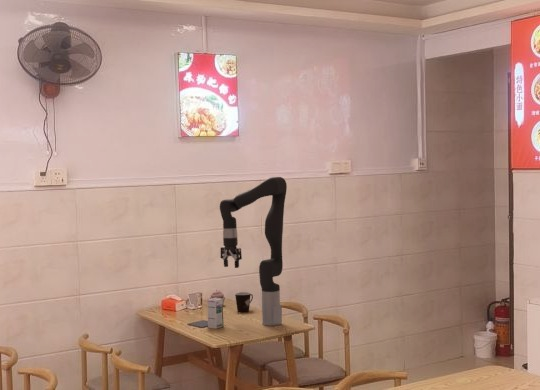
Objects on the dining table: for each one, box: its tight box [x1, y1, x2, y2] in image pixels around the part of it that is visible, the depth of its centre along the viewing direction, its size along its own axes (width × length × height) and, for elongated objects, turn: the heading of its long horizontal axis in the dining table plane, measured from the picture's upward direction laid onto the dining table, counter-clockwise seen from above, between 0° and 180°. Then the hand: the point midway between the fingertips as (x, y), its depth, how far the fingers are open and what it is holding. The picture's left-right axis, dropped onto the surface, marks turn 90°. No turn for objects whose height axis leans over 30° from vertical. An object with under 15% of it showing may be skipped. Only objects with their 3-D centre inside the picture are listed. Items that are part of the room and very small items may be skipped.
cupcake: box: [209, 288, 226, 305], centre depth 409 cm, size 9×9×10 cm
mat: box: [187, 319, 209, 329], centre depth 361 cm, size 12×11×1 cm
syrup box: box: [206, 298, 225, 330], centre depth 354 cm, size 6×6×14 cm
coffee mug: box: [234, 291, 254, 314], centre depth 392 cm, size 12×9×10 cm
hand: (231, 267), depth 371 cm, fingers open, 8 cm apart
